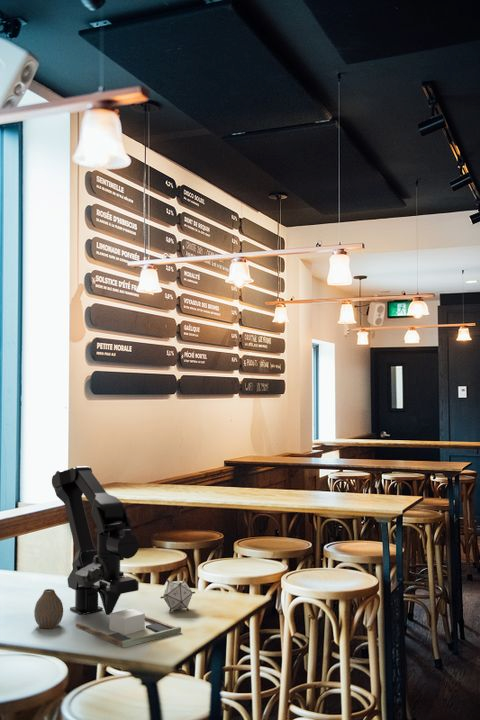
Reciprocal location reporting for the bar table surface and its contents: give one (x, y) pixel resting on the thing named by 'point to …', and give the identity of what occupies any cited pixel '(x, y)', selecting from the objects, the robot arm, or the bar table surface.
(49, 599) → the vase
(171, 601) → the game die
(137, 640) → the wood-trimmed serving tray
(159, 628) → the dark grey rectangular slab
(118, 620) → the block
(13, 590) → the bar table surface
